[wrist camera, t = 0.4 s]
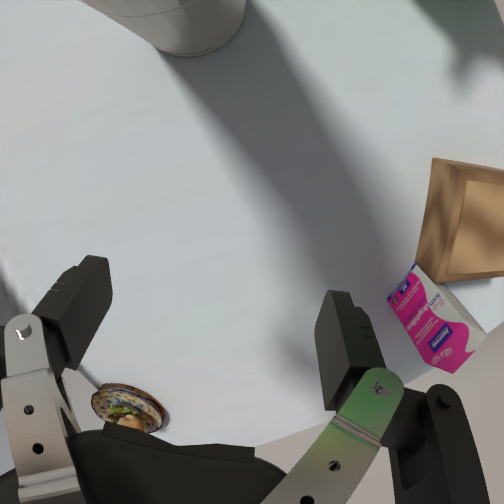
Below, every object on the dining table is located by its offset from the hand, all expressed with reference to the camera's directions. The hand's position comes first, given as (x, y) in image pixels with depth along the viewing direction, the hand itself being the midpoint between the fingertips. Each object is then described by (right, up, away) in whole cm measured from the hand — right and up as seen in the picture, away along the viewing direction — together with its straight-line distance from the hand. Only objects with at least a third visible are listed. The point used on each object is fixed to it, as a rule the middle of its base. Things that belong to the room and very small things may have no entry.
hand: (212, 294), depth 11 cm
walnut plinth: (+26, +6, +20) cm, 33 cm away
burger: (-18, -23, +32) cm, 43 cm away
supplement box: (+21, -3, +24) cm, 32 cm away
